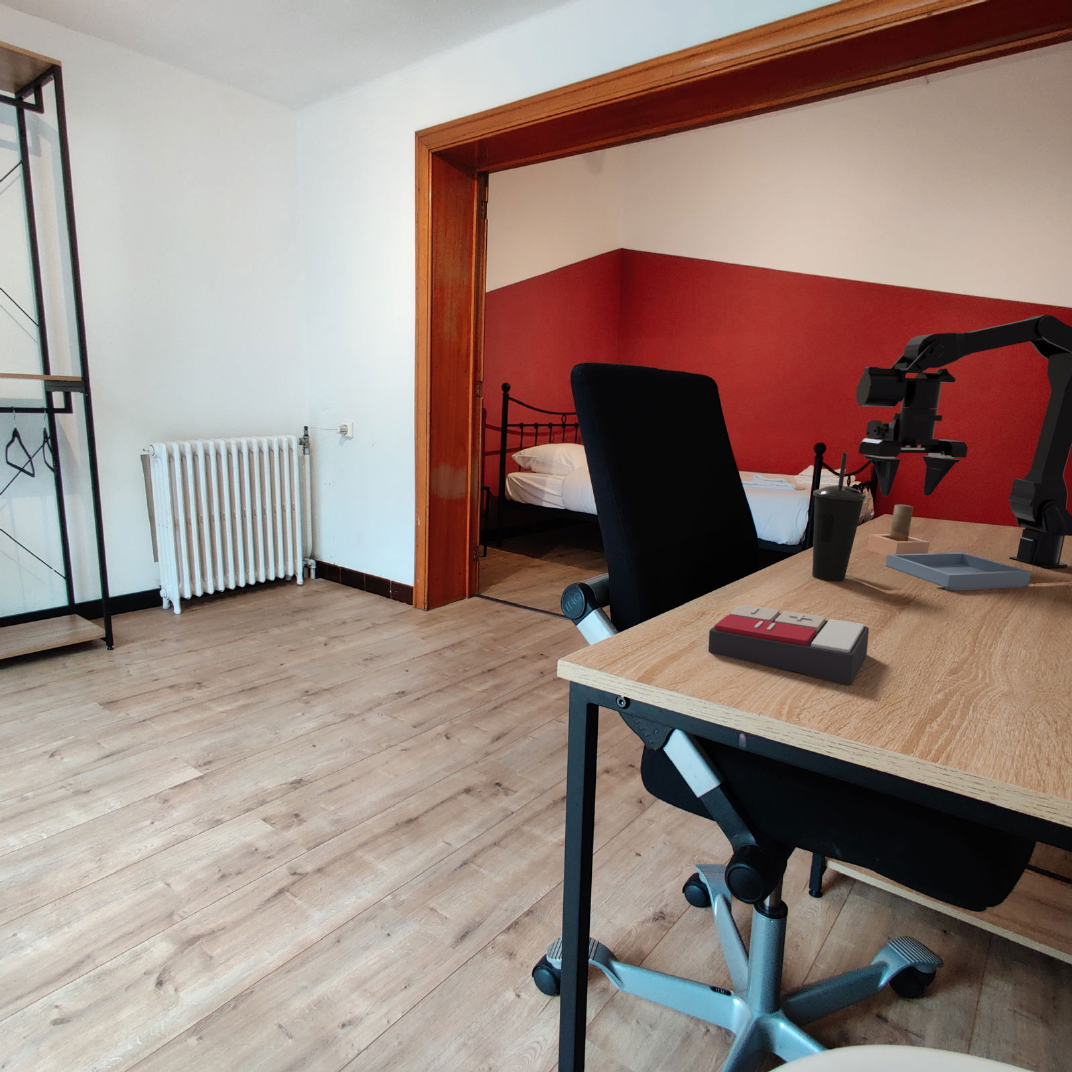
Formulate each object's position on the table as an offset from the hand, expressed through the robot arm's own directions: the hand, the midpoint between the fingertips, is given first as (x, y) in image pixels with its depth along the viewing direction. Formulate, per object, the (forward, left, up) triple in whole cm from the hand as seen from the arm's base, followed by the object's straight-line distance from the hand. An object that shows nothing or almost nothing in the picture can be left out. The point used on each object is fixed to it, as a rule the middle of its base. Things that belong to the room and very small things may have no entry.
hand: (906, 495), depth 127 cm
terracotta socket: (0, 0, -11) cm, 11 cm away
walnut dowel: (0, 0, -11) cm, 11 cm away
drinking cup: (+23, +11, -12) cm, 28 cm away
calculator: (+50, +39, -12) cm, 64 cm away
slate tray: (+1, +14, -11) cm, 18 cm away
